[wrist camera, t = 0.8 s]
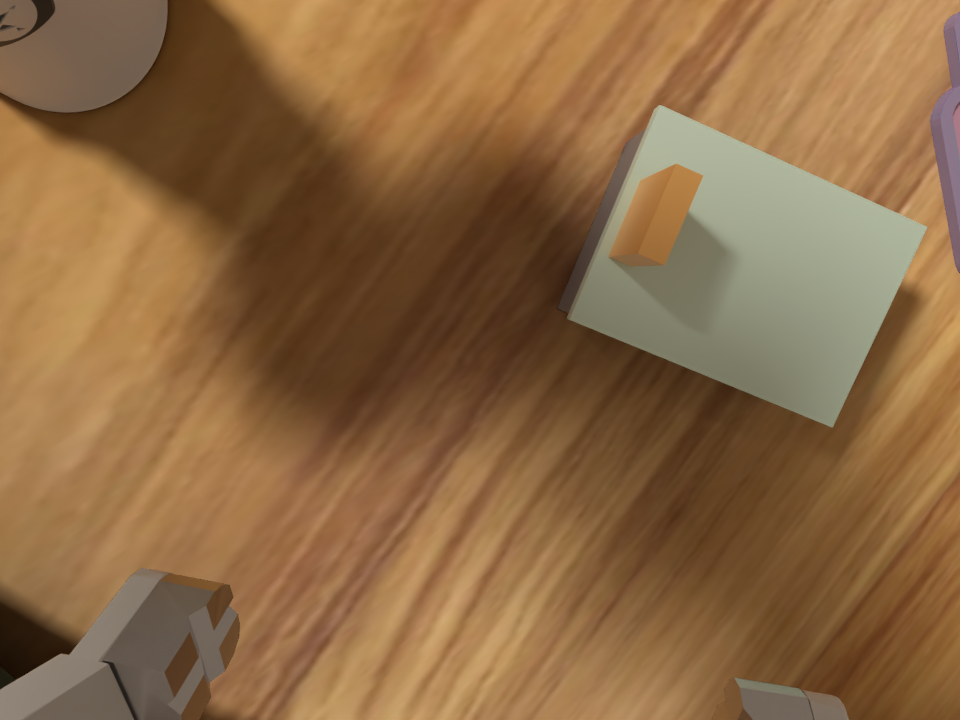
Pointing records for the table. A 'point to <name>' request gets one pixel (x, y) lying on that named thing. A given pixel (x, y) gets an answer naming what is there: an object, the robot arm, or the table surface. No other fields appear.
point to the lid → (744, 268)
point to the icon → (950, 135)
